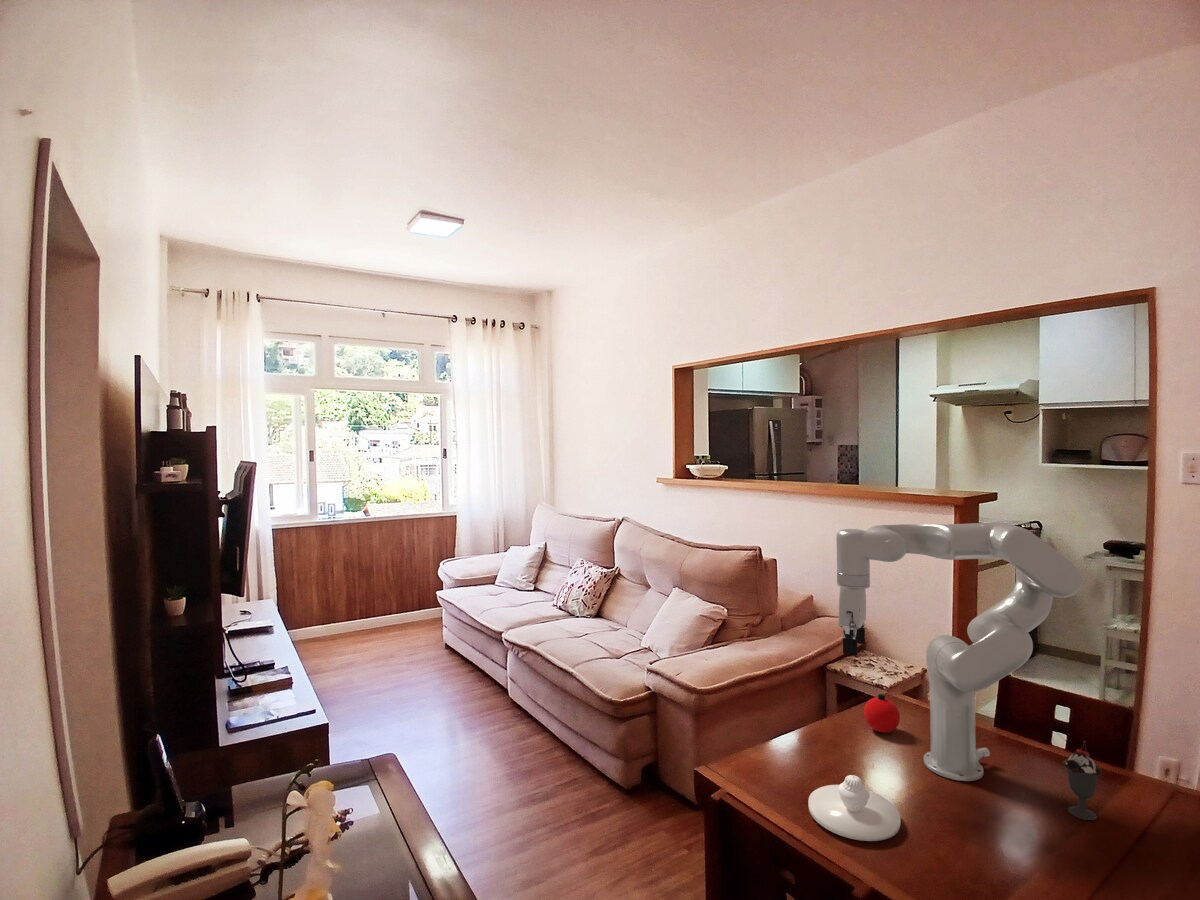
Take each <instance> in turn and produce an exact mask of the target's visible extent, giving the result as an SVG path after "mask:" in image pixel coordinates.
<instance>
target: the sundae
mask: <svg viewBox="0 0 1200 900" xmlns="http://www.w3.org/2000/svg"><path fill="white" fill-rule="evenodd" d="M1082 742H1083V746H1082V747H1081V748H1077V749H1076V751H1074V752H1073V753H1071V754H1070V756H1069V758H1066V759H1064V760H1062V764H1063V765H1064V767H1065V768H1066V771H1067V776H1068V783H1069V786H1070V790H1071V791H1072V792H1073V794H1074V795H1076V796H1077V797H1078V804H1077V806H1076V805H1071V806H1068V808H1067V811H1068V813H1069V814H1071V816H1073V817H1075V818H1078V819H1080V820H1083V821H1087V820H1092V819H1094V821H1096V820H1095V818H1096V817H1097V818H1098V816H1096V815H1097V814H1096V813H1095V812H1094V811H1092V810H1090V809H1088V808H1087V804H1086V802H1087V800H1088V799H1090V798H1092V797H1094V796H1095V793H1096V788H1097V782H1098V777H1101V776H1102V775H1103V770H1102V768H1101V767H1100V766H1098V765H1096V762H1094V760H1093V759H1092V758H1091V757H1090V753H1089V752H1088V750H1087V745H1086V743H1087V741H1086V740H1083V741H1082ZM1083 748H1085V751H1084V750H1083ZM1093 812H1094V813H1093Z"/></svg>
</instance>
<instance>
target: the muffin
mask: <svg viewBox="0 0 1200 900" xmlns="http://www.w3.org/2000/svg"><path fill="white" fill-rule="evenodd" d="M863 783H864V782H863V780H862V779H861V777H859V776H857V775H856V774H854V775H853V774H850V775H847V776H845V778H844V781H843V782H841V783H840V784H838V785H839V787H838V792H839V794H840V798H841V800H842V801H843V803H844V805H845V807H846V809H847V810H848V811H850V812H853V813H860V812H862V810H863V809H864V807H865V806H866V804H867V802H868V799H869V797H870V795H869V791H870V790H869V789H868V788H867V787H866V786H865V785H864V784H863ZM868 790H869V791H868Z"/></svg>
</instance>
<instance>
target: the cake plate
mask: <svg viewBox="0 0 1200 900" xmlns="http://www.w3.org/2000/svg"><path fill="white" fill-rule="evenodd" d="M839 785H840V784H828V785H824V786H821V787H817V788H816V789H815V790H814V791H812V792H811V793H810V794H809V796H808V799H807V800H808V805H807V806H808V812H809V814H810V815H811V817H812V819H814V821H816V822H817V824H819V825H820V826H821V827H823V828H825V829H826V830H828V831H830V832H831V833H833V834H836V835H838V836H841V837H843V838H847V839H851V840H856V841H862V842H864V841H865V842H878V841H883V840H884V841H885V840H888V839H890V838H892V837H894V836H895V835H897V834H898V833H899V831H900V829H901V815H900V812H899V810H898V809H897V807H896V806H895V805H894V803H892V802H891V801H890V800H888V799H887V798H885V797H884V796H882V795H880V794H878V793H876V792H874V791H872V790H869V789H867V790H868V791H869V795H870V797H869V799H868V802H867V804H866V806H865V807H864V809H863V810H862V812H860V813H853V812H850V811H848V810H847V809H846V807H845V805H844V803H843V801H842V800H841V798H840V794H839V792H838V787H839Z"/></svg>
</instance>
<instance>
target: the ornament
mask: <svg viewBox="0 0 1200 900" xmlns="http://www.w3.org/2000/svg"><path fill="white" fill-rule="evenodd" d="M863 717H864V720H865V722H866V723H867V725H869V727H870V728H871V729H872V730H874V731H876V732H877V733H883V734H887V733H891V732H893V731H895V730H896V729H897V728H898V726H899V724H900V719H901V718H900V717H901V715H900V710H898V708H897V706H896V704H895V703H894V702H893V701H891V700H890V699H888V698H886V696H885V695H884V694H883V693H882V694H881V693H879V694H878V695H877V696H876V697H872V698H870V699H869V700H868V701H867V702H866V703H865V705H864V708H863Z"/></svg>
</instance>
